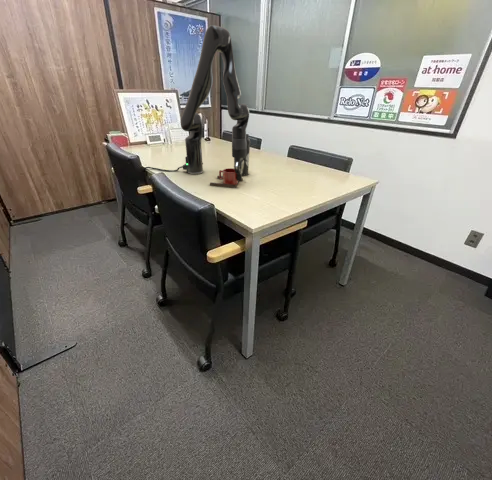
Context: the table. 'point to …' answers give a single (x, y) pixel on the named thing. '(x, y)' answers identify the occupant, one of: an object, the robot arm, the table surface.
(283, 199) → the table surface
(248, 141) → the water bottle
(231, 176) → the mug
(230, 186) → the guide rails
